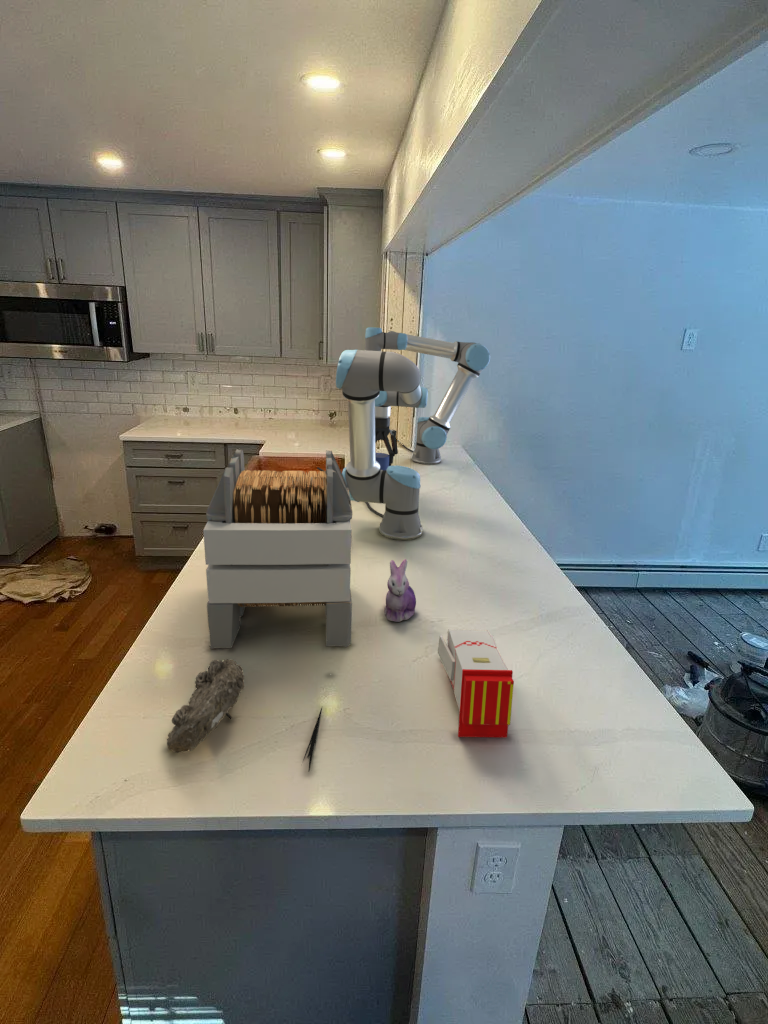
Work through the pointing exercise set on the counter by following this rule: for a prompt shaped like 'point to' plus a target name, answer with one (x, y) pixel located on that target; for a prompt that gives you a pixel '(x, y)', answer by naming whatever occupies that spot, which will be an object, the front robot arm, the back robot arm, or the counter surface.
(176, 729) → the fossil
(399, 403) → the front robot arm
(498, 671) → the toy
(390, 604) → the figurine
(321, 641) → the counter surface
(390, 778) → the counter surface
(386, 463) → the can
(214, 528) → the gray record crate
